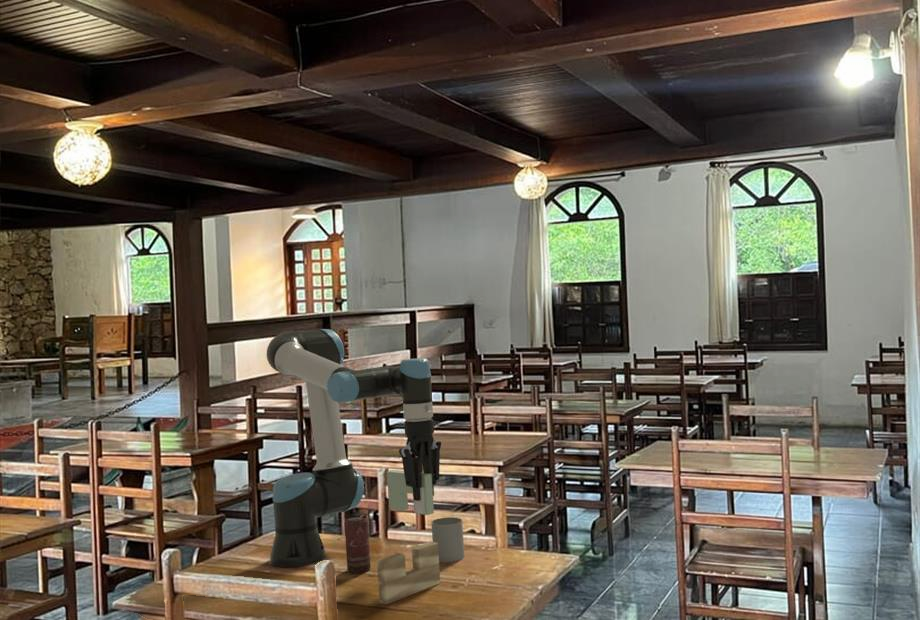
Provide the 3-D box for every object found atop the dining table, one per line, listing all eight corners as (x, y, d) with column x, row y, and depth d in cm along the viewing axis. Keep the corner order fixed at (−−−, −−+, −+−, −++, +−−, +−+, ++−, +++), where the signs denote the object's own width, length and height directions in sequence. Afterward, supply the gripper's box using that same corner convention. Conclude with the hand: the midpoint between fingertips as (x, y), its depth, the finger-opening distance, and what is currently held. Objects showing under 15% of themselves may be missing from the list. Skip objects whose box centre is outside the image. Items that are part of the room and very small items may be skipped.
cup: (460, 562, 227) (458, 525, 227) (430, 562, 228) (428, 525, 228) (466, 553, 235) (464, 517, 235) (437, 553, 236) (435, 517, 236)
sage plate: (389, 509, 223) (386, 471, 223) (395, 507, 224) (393, 469, 224) (427, 515, 213) (424, 475, 213) (434, 513, 215) (431, 473, 215)
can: (375, 567, 227) (372, 515, 227) (362, 574, 221) (359, 521, 221) (355, 565, 229) (352, 514, 229) (343, 572, 223) (339, 520, 223)
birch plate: (379, 602, 198) (377, 560, 198) (433, 581, 212) (431, 541, 212) (386, 604, 197) (383, 561, 197) (440, 583, 210) (437, 543, 210)
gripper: (407, 424, 207) (413, 519, 207) (450, 415, 219) (456, 506, 219) (386, 422, 212) (392, 516, 212) (429, 414, 224) (435, 503, 224)
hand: (424, 511), depth 215 cm, fingers closed on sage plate, 2 cm apart
